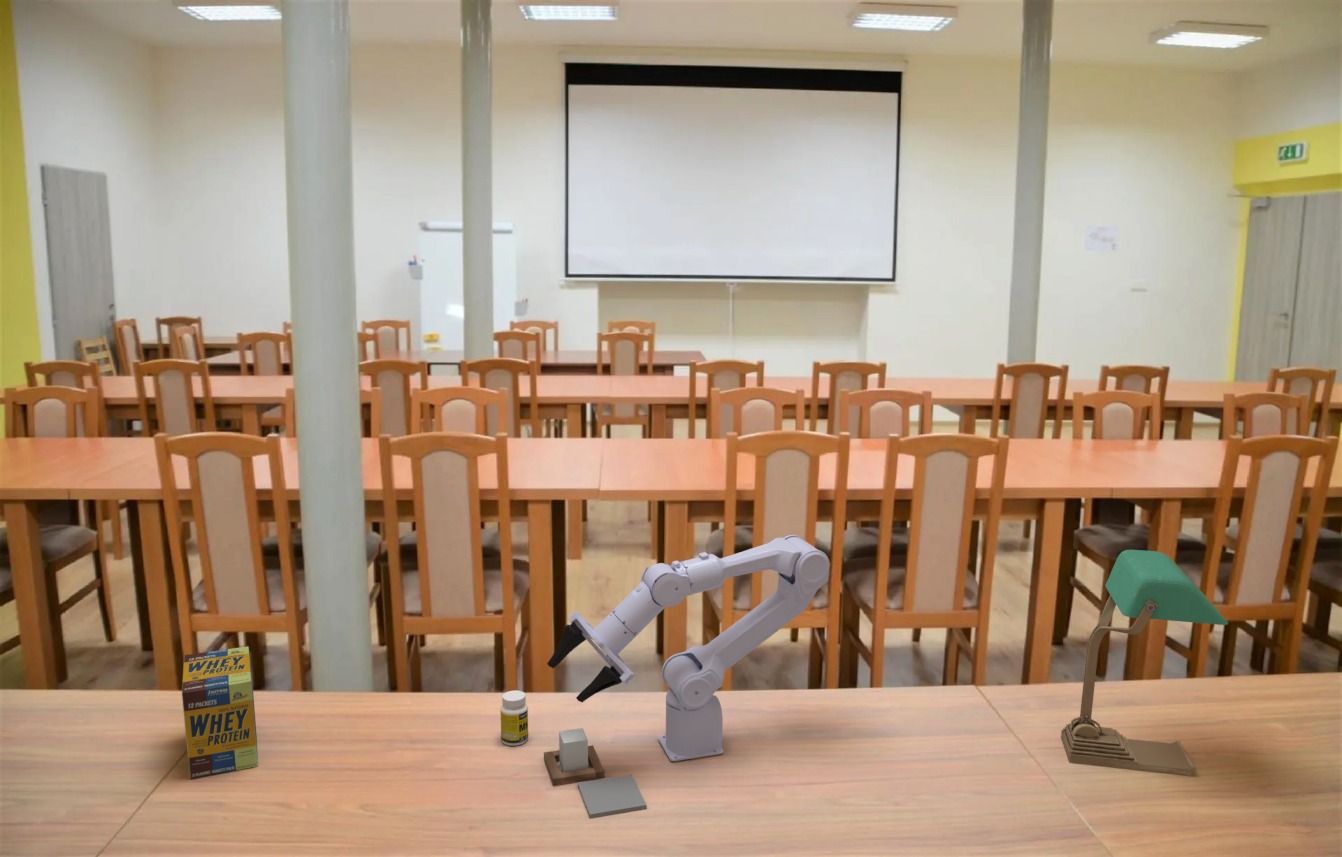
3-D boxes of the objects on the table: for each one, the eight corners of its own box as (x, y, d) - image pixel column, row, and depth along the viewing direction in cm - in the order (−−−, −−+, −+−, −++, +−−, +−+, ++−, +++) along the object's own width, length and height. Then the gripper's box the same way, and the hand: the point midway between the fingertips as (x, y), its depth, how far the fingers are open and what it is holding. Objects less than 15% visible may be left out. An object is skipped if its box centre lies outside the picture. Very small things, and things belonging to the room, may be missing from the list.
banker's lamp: (1057, 727, 181) (1075, 543, 174) (1181, 740, 177) (1205, 552, 170) (1073, 774, 166) (1093, 574, 159) (1209, 789, 162) (1236, 584, 154)
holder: (593, 751, 171) (593, 745, 171) (604, 777, 163) (604, 771, 163) (543, 758, 169) (543, 752, 169) (553, 785, 161) (553, 779, 161)
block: (582, 760, 169) (582, 728, 167) (588, 772, 165) (587, 739, 164) (559, 764, 167) (559, 731, 166) (564, 776, 164) (563, 743, 162)
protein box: (189, 780, 162) (180, 692, 158) (191, 736, 175) (183, 653, 172) (259, 767, 166) (252, 680, 163) (255, 724, 180) (249, 644, 176)
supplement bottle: (522, 748, 172) (521, 703, 171) (497, 745, 173) (495, 700, 171) (532, 734, 177) (531, 690, 175) (506, 731, 178) (505, 687, 176)
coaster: (631, 777, 163) (631, 774, 163) (646, 808, 155) (646, 804, 155) (577, 786, 161) (577, 783, 161) (589, 818, 152) (589, 814, 152)
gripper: (589, 587, 164) (528, 647, 162) (646, 651, 158) (584, 713, 156) (601, 596, 170) (544, 654, 169) (657, 657, 164) (598, 717, 163)
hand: (564, 682), depth 163 cm, fingers open, 7 cm apart
